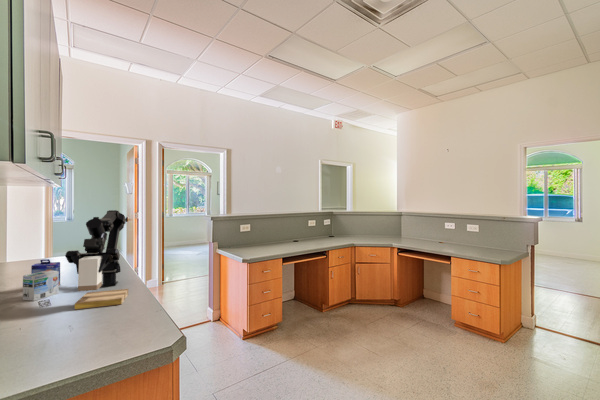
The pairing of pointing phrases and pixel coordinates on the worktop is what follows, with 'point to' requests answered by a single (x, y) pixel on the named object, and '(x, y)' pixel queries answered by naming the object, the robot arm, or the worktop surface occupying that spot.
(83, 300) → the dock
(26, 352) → the worktop surface
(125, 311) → the worktop surface
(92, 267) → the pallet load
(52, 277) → the light bulb box
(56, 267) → the ink cartridge box
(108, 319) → the worktop surface
